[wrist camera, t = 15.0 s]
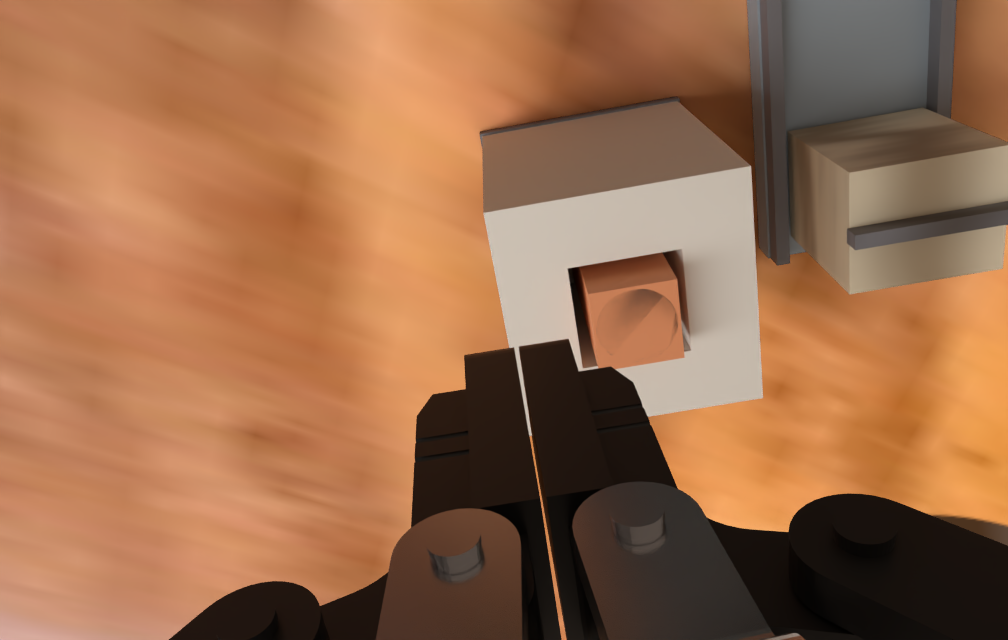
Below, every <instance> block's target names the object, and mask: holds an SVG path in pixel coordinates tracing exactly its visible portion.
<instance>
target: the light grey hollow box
mask: <svg viewBox="0 0 1008 640" xmlns="http://www.w3.org/2000/svg"><path fill="white" fill-rule="evenodd" d="M480 139H481V144H482V151H483V209H484V218H485V223H486V228H487V233H488V239H489V244H490V249H491V254H492V259H493V265H494V270H495V275H496V280H497V285H498V291H499V296H500V301H501V306H502V312H503V317H504V322H505V327H506V332H507V338H508V343H509V348H513V347H514V349H515V355H516V361H517V367H518V373H519V379H520V384H521V390H522V396H523V402H524V408H525V414H526V420H527V425H528V431H529V436H532V433H531V427H530V420H529V413H528V407H527V400H526V393H525V387H524V380H523V374H522V367H521V360H520V353H519V346H525V345H531V344H537V343H544V342H550V341H557V340H563V339H569V341H570V344H571V348H572V351H573V354H574V358H575V361H576V364H577V367H578V371H585V370H591V369H597V368H598V365H597V362H596V358H595V354H594V350H593V347H592V343H591V339H590V336H589V332H588V328H587V325H586V321H585V317H584V313H583V310H582V306H581V302H580V299H579V295H578V291H577V288H576V284H575V280H574V277H573V270H572V268H574V267H579V266H585V265H591V264H597V263H603V262H609V261H614V260H620V259H626V258H632V257H638V256H644V255H649V254H655V253H661V252H662V253H663V255H664V256H665V258H666V260H667V262H668V264H669V265H670V267H671V269H672V271H673V272H674V274H675V276H676V278H677V282H678V293H679V303H680V314H681V324H682V335H683V346H684V356H685V358H680V359H674V360H668V361H662V362H656V363H650V364H644V365H638V366H631V367H625V368H619V369H615V370H617V371H618V372H619V373H621V374H622V375H624V376H625V377H627V378H628V379H629V380H631V381H632V382H633V383H634V385H635V388H636V390H637V393H638V395H639V397H640V400H641V402H642V407H643V408H644V409H645V412H646V414H647V416H648V417H649V416H655V415H661V414H667V413H674V412H680V411H686V410H692V409H698V408H704V407H710V406H717V405H723V404H729V403H735V402H741V401H747V400H754V399H760V398H763V389H762V370H761V350H760V331H759V311H758V292H757V272H756V253H755V233H754V214H753V194H752V175H751V165H749V164H748V163H747V162H746V161H745V160H744V159H743V158H741V157H740V156H739V155H738V154H737V153H736V152H735V151H734V150H732V149H731V148H730V147H729V146H728V145H727V144H726V143H724V142H723V141H722V140H721V139H720V138H719V137H718V136H717V135H715V134H714V133H713V132H712V131H711V130H710V129H709V128H707V127H706V126H705V125H704V124H703V123H702V122H701V121H700V120H698V119H697V118H696V117H695V116H694V115H693V114H692V113H690V112H689V111H688V110H687V109H686V108H685V107H684V106H682V105H681V104H680V100H679V98H678V97H677V96H676V97H671V98H665V99H660V100H654V101H649V102H643V103H637V104H632V105H626V106H621V107H615V108H610V109H604V110H599V111H593V112H588V113H582V114H576V115H571V116H565V117H560V118H554V119H549V120H543V121H538V122H532V123H527V124H521V125H515V126H510V127H504V128H499V129H493V130H488V131H482V132H480Z"/></svg>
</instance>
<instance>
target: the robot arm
mask: <svg viewBox="0 0 1008 640" xmlns="http://www.w3.org/2000/svg"><path fill="white" fill-rule="evenodd" d="M519 353H520V360H521V367H522V374H523V380H524V387H525V393H526V400H527V407H528V413H529V420H530V427H531V433H532V440H533V446H534V453H535V459H536V465H537V471H538V477H539V483H540V489H541V495H542V500H543V506H544V512H545V518H546V523H547V529H548V535H549V541H550V546H551V552H552V558H553V564H554V569H555V575H556V581H557V586H558V592H559V598H560V604H561V609H562V615H563V621H564V627H565V632H566V638H567V640H1008V546H1007V545H1004V544H1002V543H999V542H997V541H994V540H992V539H989V538H987V537H984V536H981V535H979V534H976V533H974V532H971V531H969V530H966V529H964V528H961V527H959V526H956V525H954V524H951V523H948V522H946V521H943V520H941V519H938V518H936V517H933V516H931V515H928V514H926V513H923V512H921V511H918V510H916V509H913V508H910V507H908V506H905V505H903V504H900V503H898V502H895V501H892V500H889V499H886V498H881V497H877V496H872V495H864V494H838V495H832V496H826V497H823V498H820V499H817V500H814V501H812V502H810V503H808V504H806V505H805V506H804V507H802V508H801V509H800V510H799V511H798V512H797V513H796V514H795V515H794V517H793V519H792V521H791V523H790V527H789V532H777V531H763V530H750V529H742V528H736V527H732V526H727V525H724V524H721V523H718V522H715V521H713V520H711V519H709V518H706V516H705V514H704V513H703V511H702V509H701V508H700V506H699V505H698V504H697V502H696V501H695V500H694V499H693V498H691V497H690V496H689V495H687V494H686V493H684V492H683V491H681V490H679V489H678V488H677V486H676V484H675V481H674V479H673V476H672V474H671V472H670V469H669V467H668V464H667V462H666V460H665V457H664V455H663V452H662V450H661V448H660V445H659V443H658V440H657V438H656V436H655V433H654V431H653V428H652V426H651V425H650V422H649V419H648V416H647V414H646V412H645V409H644V408H643V407H642V402H641V400H640V397H639V395H638V393H637V390H636V388H635V385H634V383H633V382H632V381H631V380H629V379H628V378H627V377H625V376H624V375H622V374H621V373H619V372H618V371H617V370H615V369H614V368H612V367H611V366H610V367H604V368H597V369H591V370H585V371H578V367H577V364H576V361H575V358H574V354H573V351H572V348H571V344H570V341H569V339H563V340H557V341H550V342H544V343H537V344H531V345H525V346H519ZM464 360H465V380H466V389H465V390H458V391H452V392H446V393H439V394H433V395H432V396H431V397H430V399H429V400H428V402H427V403H426V404H425V406H424V407H423V409H422V410H421V411H420V413H419V414H418V416H417V424H416V444H415V463H414V483H413V502H412V522H411V528H410V529H409V530H408V531H407V532H406V533H405V534H404V535H403V536H402V537H401V538H400V540H399V541H398V542H397V544H396V546H395V548H394V550H393V553H392V556H391V561H390V566H389V572H388V573H387V574H385V575H384V576H382V577H381V578H380V579H378V580H377V581H375V582H374V583H372V584H370V585H369V586H367V587H365V588H363V589H361V590H359V591H356V592H354V593H352V594H349V595H347V596H344V597H342V598H339V599H337V600H335V601H332V602H330V603H327V604H325V605H322V606H319V603H318V601H317V599H316V597H315V596H314V595H313V594H312V593H311V592H310V591H309V590H308V589H306V588H304V587H303V586H300V585H297V584H294V583H290V582H281V581H272V582H264V583H258V584H254V585H250V586H247V587H244V588H241V589H239V590H236V591H234V592H232V593H230V594H228V595H226V596H224V597H223V598H221V599H219V600H218V601H216V602H215V603H213V604H212V605H211V606H209V607H208V608H207V609H205V610H204V611H203V612H202V613H200V614H199V615H198V616H197V617H196V618H194V619H193V620H192V621H191V622H190V623H188V624H187V625H186V626H185V627H184V628H182V629H181V630H180V631H179V632H178V633H176V634H175V635H174V636H173V637H172V638H170V639H169V640H561V634H560V627H559V621H558V614H557V607H556V601H555V594H554V588H553V581H552V575H551V568H550V561H549V555H548V548H547V542H546V535H545V528H544V522H543V515H542V509H541V502H540V496H539V490H538V484H537V478H536V472H535V466H534V461H533V455H532V449H531V443H530V437H529V431H528V425H527V420H526V414H525V408H524V402H523V396H522V390H521V384H520V379H519V373H518V367H517V361H516V355H515V349H514V347H513V348H507V349H500V350H494V351H487V352H481V353H475V354H468V355H464Z"/></svg>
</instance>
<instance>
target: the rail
mask: <svg viewBox="0 0 1008 640" xmlns="http://www.w3.org/2000/svg"><path fill="white" fill-rule="evenodd" d="M956 2H957V0H747V10H748V30H749V51H750V71H751V91H752V112H753V132H754V152H755V173H756V193H757V214H758V234H759V248H760V249H761V250H762V251H763V253H764V254H765V255H766V256H767V257H768V258H771V259H772V260H773V261H774V262H775V263H776V265H783V264H789V263H790V255H791V254H796V253H802V252H806V251H805V250H804V249H803V248H802V247H801V246H800V245H799V244H798V243H797V242H796V241H795V240H794V239H793V238H792V237H791V228H790V197H789V166H788V134H787V131H793V130H799V129H804V128H810V127H816V126H821V125H827V124H832V123H838V122H844V121H849V120H855V119H861V118H866V117H872V116H878V115H883V114H889V113H895V112H900V111H906V110H911V109H917V108H925V109H928V110H930V111H933V112H935V113H938V114H940V115H942V116H945V117H947V118H950V119H951V103H952V83H953V62H954V42H955V22H956Z"/></svg>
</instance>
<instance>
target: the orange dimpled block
mask: <svg viewBox="0 0 1008 640" xmlns="http://www.w3.org/2000/svg"><path fill="white" fill-rule="evenodd" d="M572 270H573V277H574V280H575V284H576V288H577V291H578V295H579V299H580V302H581V306H582V310H583V313H584V317H585V321H586V325H587V328H588V332H589V336H590V339H591V343H592V347H593V350H594V354H595V358H596V362H597V365H598V368H604V367H610V366H611V367H612V368H614V369H619V368H625V367H631V366H638V365H644V364H650V363H656V362H662V361H668V360H674V359H680V358H685V356H684V346H683V335H682V324H681V314H680V303H679V293H678V282H677V278H676V276H675V274H674V272H673V271H672V269H671V267H670V265H669V264H668V262H667V260H666V258H665V256H664V255H663V253H662V252H661V253H655V254H649V255H644V256H638V257H632V258H626V259H620V260H614V261H609V262H603V263H597V264H591V265H585V266H579V267H574V268H572Z"/></svg>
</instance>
